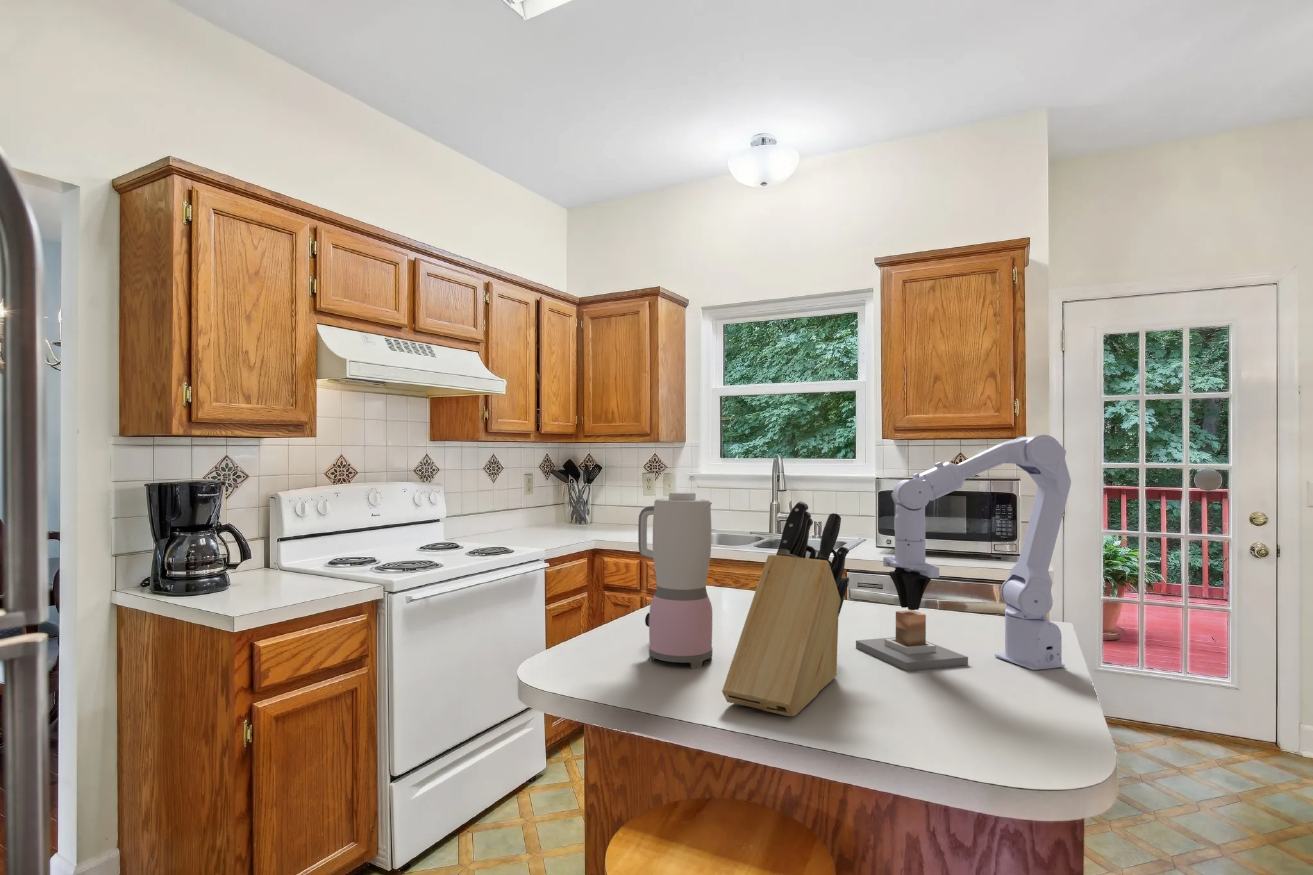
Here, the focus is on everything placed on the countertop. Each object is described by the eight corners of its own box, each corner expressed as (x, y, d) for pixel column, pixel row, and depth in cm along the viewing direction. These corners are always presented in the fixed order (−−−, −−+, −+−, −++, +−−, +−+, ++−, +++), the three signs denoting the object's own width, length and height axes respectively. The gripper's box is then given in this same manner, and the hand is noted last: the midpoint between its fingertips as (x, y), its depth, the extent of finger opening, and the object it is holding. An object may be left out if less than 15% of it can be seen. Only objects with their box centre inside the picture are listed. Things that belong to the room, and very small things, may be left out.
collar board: (967, 664, 131) (968, 650, 131) (906, 670, 127) (906, 656, 127) (912, 642, 147) (912, 630, 147) (855, 647, 142) (855, 634, 142)
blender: (722, 656, 135) (724, 492, 136) (697, 673, 124) (699, 495, 125) (651, 645, 142) (653, 489, 143) (621, 660, 131) (624, 492, 132)
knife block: (853, 664, 130) (854, 501, 131) (790, 726, 100) (792, 513, 101) (795, 655, 136) (797, 498, 137) (719, 710, 106) (722, 509, 107)
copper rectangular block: (925, 650, 136) (925, 614, 136) (908, 651, 134) (908, 615, 135) (912, 644, 139) (912, 610, 140) (895, 646, 138) (895, 611, 138)
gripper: (870, 536, 143) (870, 601, 143) (917, 544, 129) (917, 617, 129) (899, 535, 145) (899, 600, 145) (948, 543, 132) (948, 615, 131)
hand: (909, 608), depth 137 cm, fingers closed
